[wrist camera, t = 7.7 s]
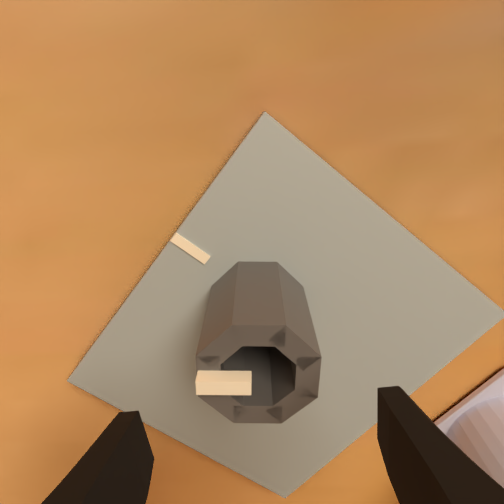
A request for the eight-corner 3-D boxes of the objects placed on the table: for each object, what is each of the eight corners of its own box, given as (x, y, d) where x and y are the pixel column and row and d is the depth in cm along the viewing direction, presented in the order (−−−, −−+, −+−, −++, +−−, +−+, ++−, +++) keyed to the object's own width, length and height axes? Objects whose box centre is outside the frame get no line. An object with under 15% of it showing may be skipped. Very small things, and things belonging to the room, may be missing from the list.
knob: (304, 261, 18) (327, 335, 12) (299, 340, 20) (317, 436, 14) (210, 261, 18) (190, 334, 12) (213, 339, 20) (197, 435, 14)
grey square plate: (493, 302, 20) (550, 350, 16) (283, 481, 26) (289, 549, 22) (264, 110, 17) (267, 114, 13) (76, 366, 22) (38, 423, 18)
